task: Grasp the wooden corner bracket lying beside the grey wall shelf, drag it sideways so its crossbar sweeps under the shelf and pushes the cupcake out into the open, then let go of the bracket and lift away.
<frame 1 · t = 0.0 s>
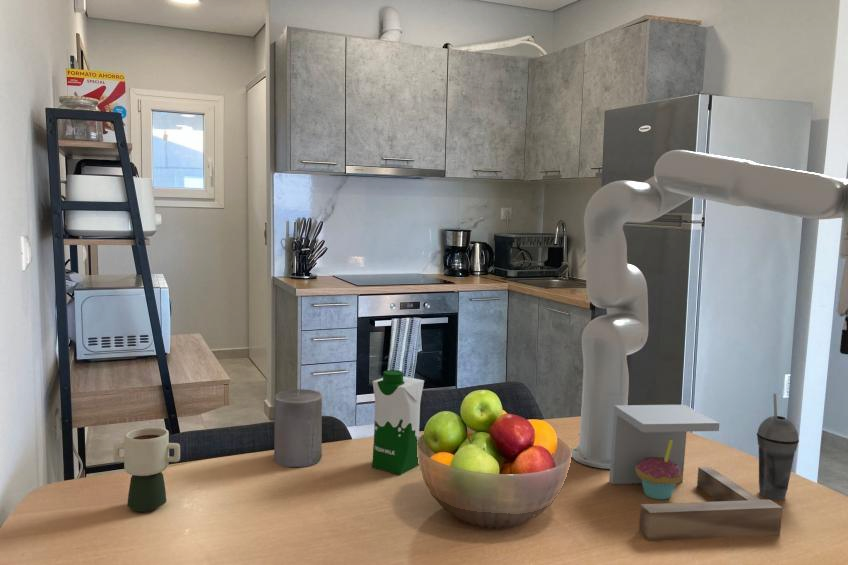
beverage cup: (772, 496, 133), on the table
milk carton: (396, 467, 141), on the table
pillar candle: (297, 460, 143), on the table
cupcake: (656, 495, 131), on the table
wooden corner bracket: (709, 534, 116), on the table
shelf: (659, 492, 132), on the table
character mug: (147, 508, 118), on the table
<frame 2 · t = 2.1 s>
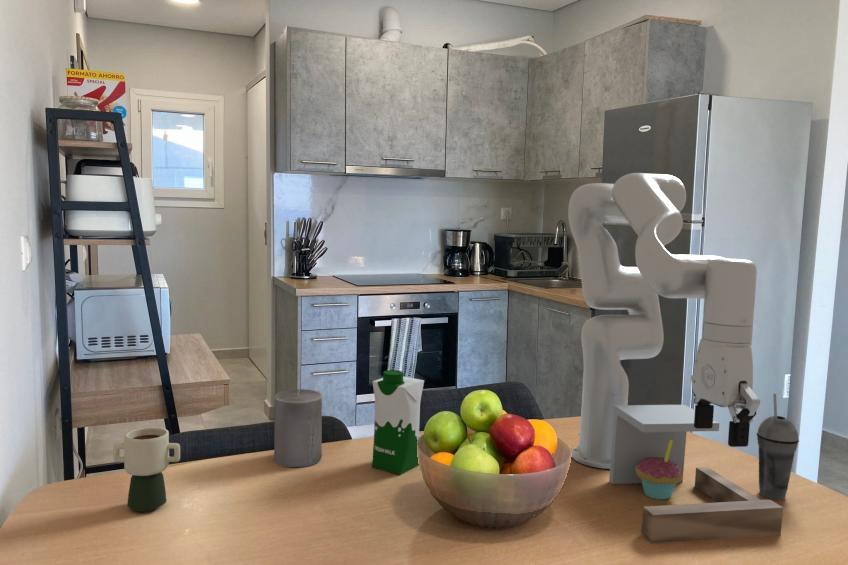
hand: (719, 436, 114), 17 cm above the table, tool pointing down, fingers open, 9 cm apart
nothing on the table moved.
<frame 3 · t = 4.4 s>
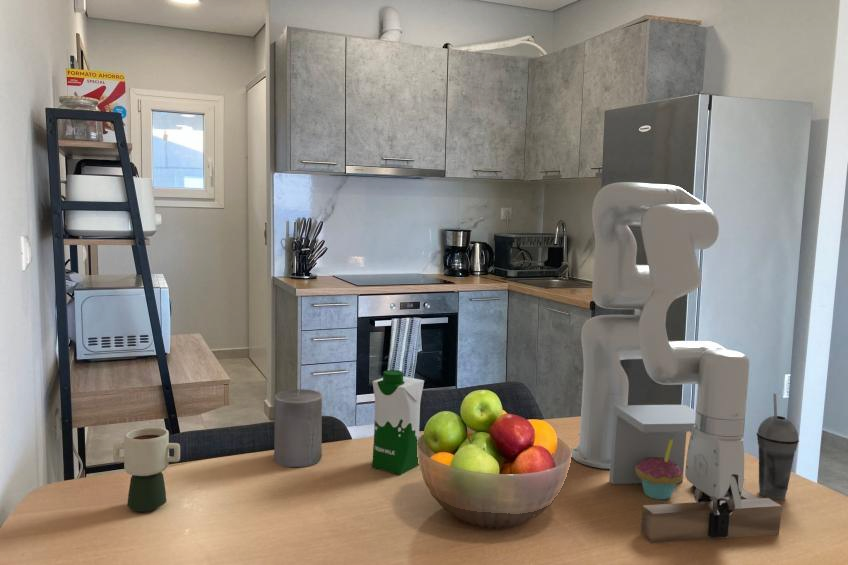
hand: (710, 529, 116), 1 cm above the table, tool pointing down, fingers closed on wooden corner bracket, 3 cm apart
wooden corner bracket: (710, 534, 116), on the table, touching gripper
everything else where it was.
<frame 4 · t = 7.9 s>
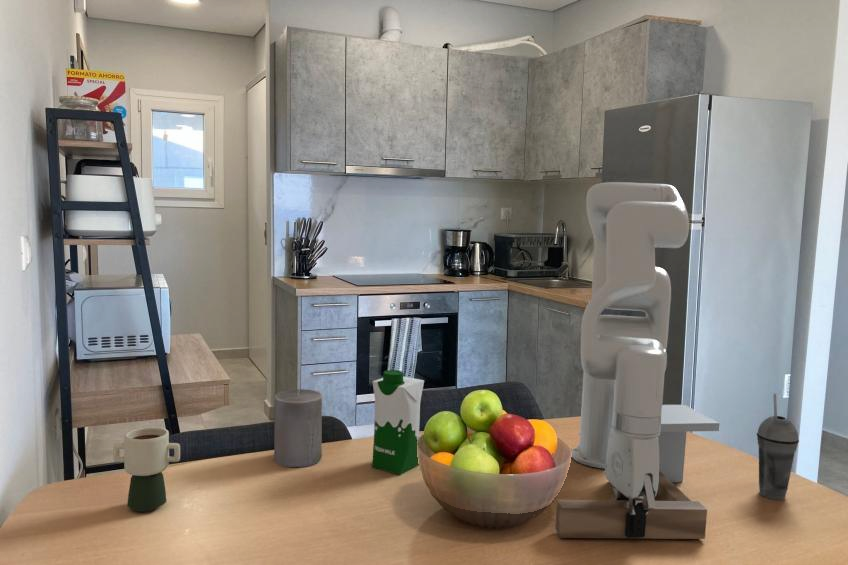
hand: (628, 529, 113), 1 cm above the table, tool pointing down, fingers closed on wooden corner bracket, 3 cm apart
cupcake: (626, 496, 130), on the table, touching wooden corner bracket
wooden corner bracket: (629, 533, 113), point 1 cm above the table, touching cupcake, gripper
everything else where it was.
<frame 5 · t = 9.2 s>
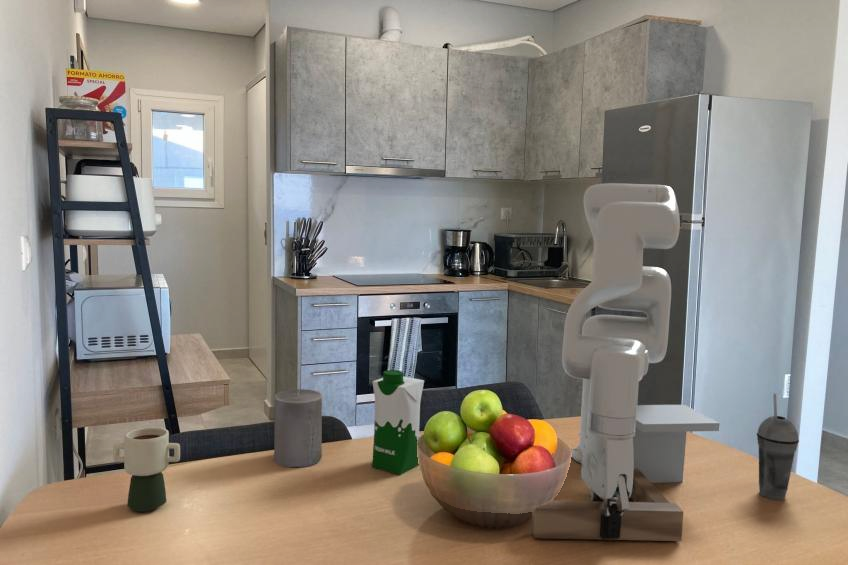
hand: (604, 530, 112), 1 cm above the table, tool pointing down, fingers closed on wooden corner bracket, 3 cm apart
cupcake: (608, 495, 130), on the table, touching wooden corner bracket
wooden corner bracket: (605, 534, 113), point 1 cm above the table, touching cupcake, gripper
everything else where it was.
when the fingers open (1 cm above the table, at t = 10.1 s): wooden corner bracket stays where it is, on the table.
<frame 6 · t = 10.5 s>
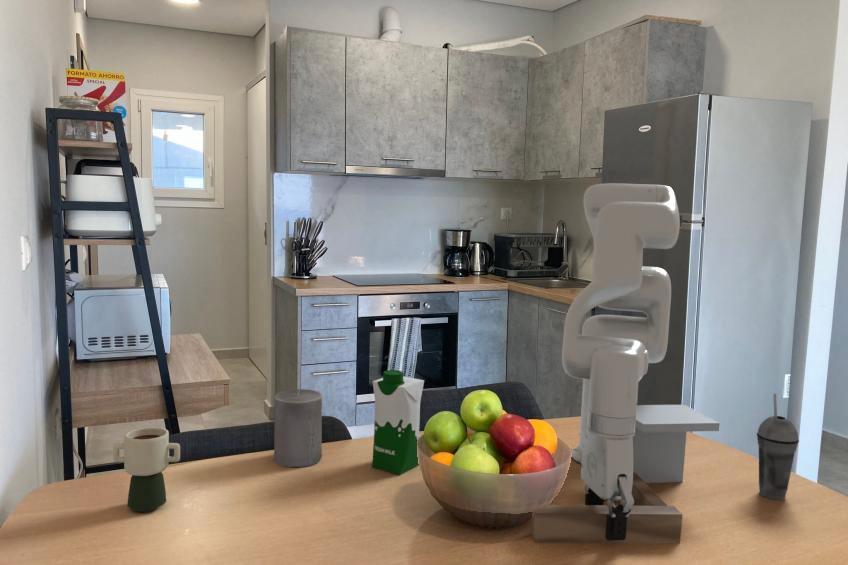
hand: (604, 526, 112), 2 cm above the table, tool pointing down, fingers open, 7 cm apart
cupcake: (606, 496, 130), on the table
wooden corner bracket: (604, 538, 113), on the table
everything else where it was.
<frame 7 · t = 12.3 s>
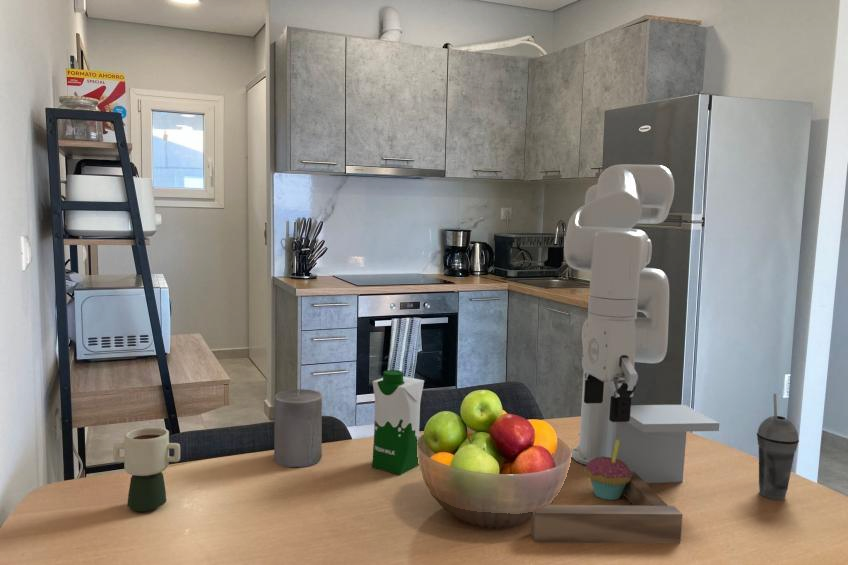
hand: (605, 411, 112), 21 cm above the table, tool pointing down, fingers open, 9 cm apart
nothing on the table moved.
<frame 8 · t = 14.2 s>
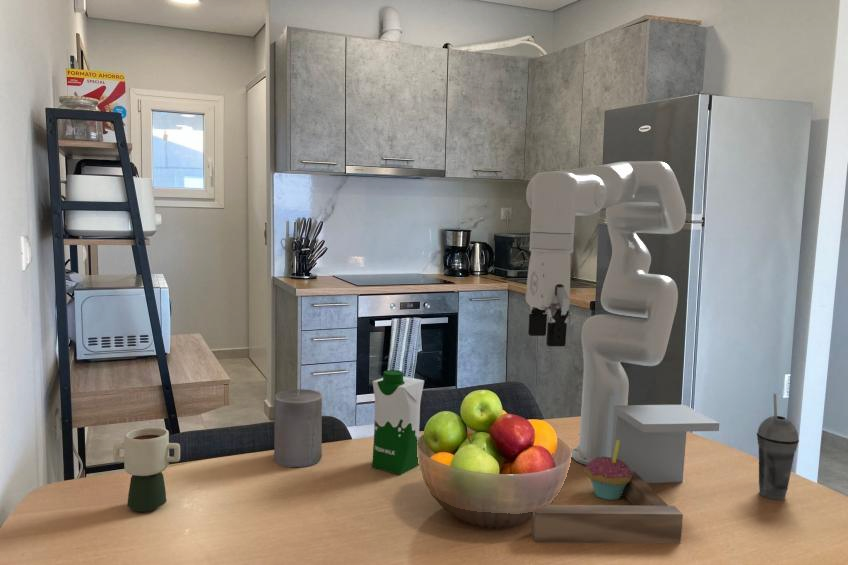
hand: (546, 340, 121), 30 cm above the table, tool pointing down, fingers open, 9 cm apart
nothing on the table moved.
at the end: cupcake inside the target area (9.2 cm from its centre), on the table; cupcake tilted 0° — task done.
